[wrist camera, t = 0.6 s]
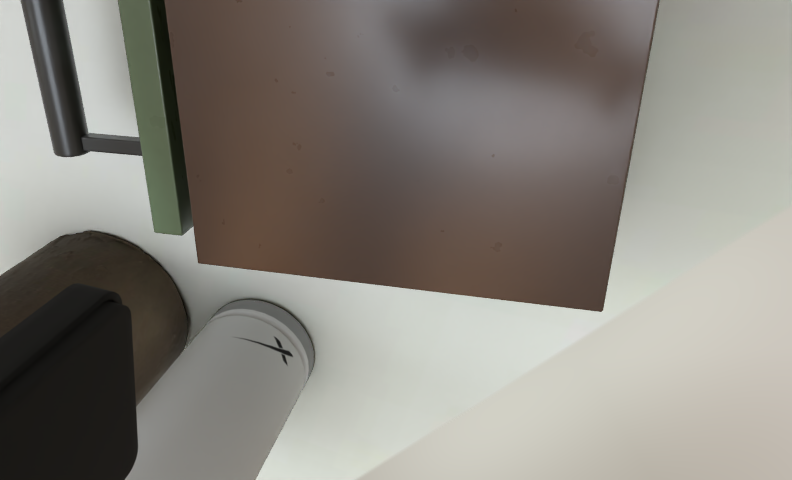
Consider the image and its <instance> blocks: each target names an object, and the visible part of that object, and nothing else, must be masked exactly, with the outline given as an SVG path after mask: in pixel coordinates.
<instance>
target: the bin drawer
mask: <svg viewBox="0 0 792 480" xmlns="http://www.w3.org/2000/svg"><path fill="white" fill-rule="evenodd" d="M21 4H22V9H23V13H24V18H25V22H26V27H27V31H28V36H29V40H30V45H31V50H32V54H33V59H34V63H35V68H36V72H37V77H38V82H39V86H40V91H41V95H42V100H43V104H44V109H45V114H46V118H47V123H48V127H49V132H50V136H51V141H52V146H53V150H54V153H55V155H57V156H61V157H74V156H80V155H84V154H86V153H88V152H90V151H95V152H106V153H117V154H128V155H139V156H143V163H144V169H145V175H146V182H147V188H148V194H149V201H150V207H151V213H152V220H153V226H154V232H155V233H163V234H172V235H184V234H185V233H186V232H187V231H188V230H189V229H191V228H192V227H193V219H192V211H191V203H190V195H189V187H188V180H187V172H186V164H185V156H184V148H183V141H182V133H181V125H180V117H179V110H178V102H177V94H176V86H175V78H174V71H173V63H172V55H171V47H170V39H169V32H168V24H167V16H166V8H165V0H118V4H119V10H120V17H121V23H122V30H123V36H124V42H125V49H126V55H127V61H128V68H129V74H130V80H131V87H132V93H133V99H134V106H135V112H136V118H137V125H138V131H139V137H129V136H117V135H105V134H94V133H89V134H88V129H87V123H86V118H85V113H84V108H83V103H82V97H81V92H80V87H79V82H78V77H77V71H76V66H75V61H74V56H73V51H72V45H71V40H70V35H69V30H68V25H67V19H66V14H65V9H64V4H63V0H21Z"/></svg>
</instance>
